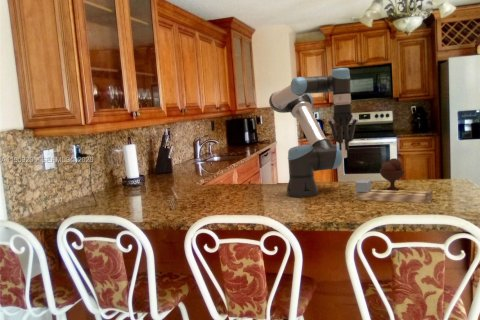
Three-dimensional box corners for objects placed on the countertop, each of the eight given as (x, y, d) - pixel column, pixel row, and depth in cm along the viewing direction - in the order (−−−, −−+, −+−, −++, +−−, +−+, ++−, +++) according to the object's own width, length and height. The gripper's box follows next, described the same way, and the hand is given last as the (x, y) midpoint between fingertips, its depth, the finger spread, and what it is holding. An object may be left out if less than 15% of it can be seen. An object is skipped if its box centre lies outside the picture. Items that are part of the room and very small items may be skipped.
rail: (354, 199, 178) (354, 190, 178) (359, 195, 185) (359, 187, 185) (430, 203, 163) (429, 193, 162) (432, 198, 169) (432, 189, 169)
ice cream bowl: (400, 187, 198) (399, 156, 196) (407, 191, 187) (407, 159, 185) (378, 188, 199) (377, 157, 197) (383, 192, 188) (382, 160, 186)
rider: (356, 196, 178) (355, 182, 178) (360, 193, 184) (359, 179, 184) (367, 196, 176) (367, 182, 175) (371, 193, 182) (371, 180, 181)
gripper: (325, 105, 180) (327, 158, 183) (354, 103, 173) (356, 158, 176) (330, 105, 186) (333, 156, 189) (359, 102, 180) (361, 156, 182)
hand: (344, 157), depth 182 cm, fingers closed
